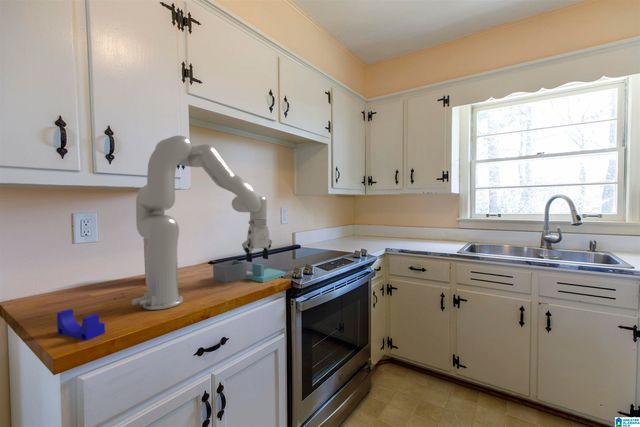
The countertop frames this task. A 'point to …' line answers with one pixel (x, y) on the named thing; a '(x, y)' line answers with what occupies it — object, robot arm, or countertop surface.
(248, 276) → the lid
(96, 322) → the cable clip
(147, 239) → the cracker box
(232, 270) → the tub
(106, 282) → the countertop surface
